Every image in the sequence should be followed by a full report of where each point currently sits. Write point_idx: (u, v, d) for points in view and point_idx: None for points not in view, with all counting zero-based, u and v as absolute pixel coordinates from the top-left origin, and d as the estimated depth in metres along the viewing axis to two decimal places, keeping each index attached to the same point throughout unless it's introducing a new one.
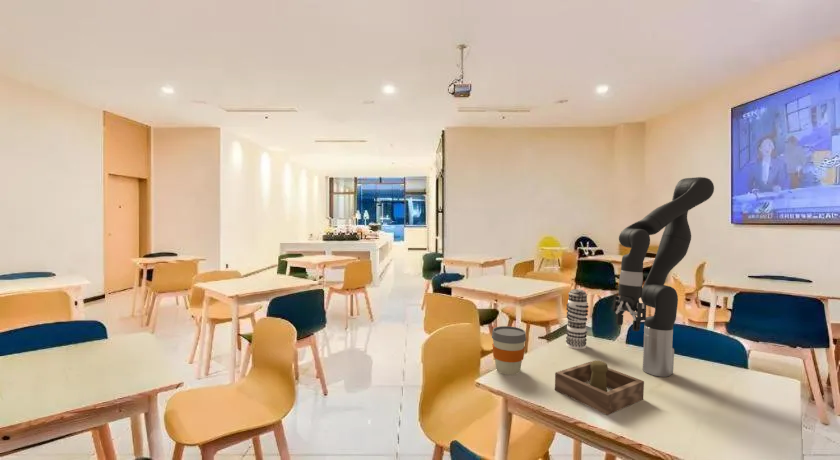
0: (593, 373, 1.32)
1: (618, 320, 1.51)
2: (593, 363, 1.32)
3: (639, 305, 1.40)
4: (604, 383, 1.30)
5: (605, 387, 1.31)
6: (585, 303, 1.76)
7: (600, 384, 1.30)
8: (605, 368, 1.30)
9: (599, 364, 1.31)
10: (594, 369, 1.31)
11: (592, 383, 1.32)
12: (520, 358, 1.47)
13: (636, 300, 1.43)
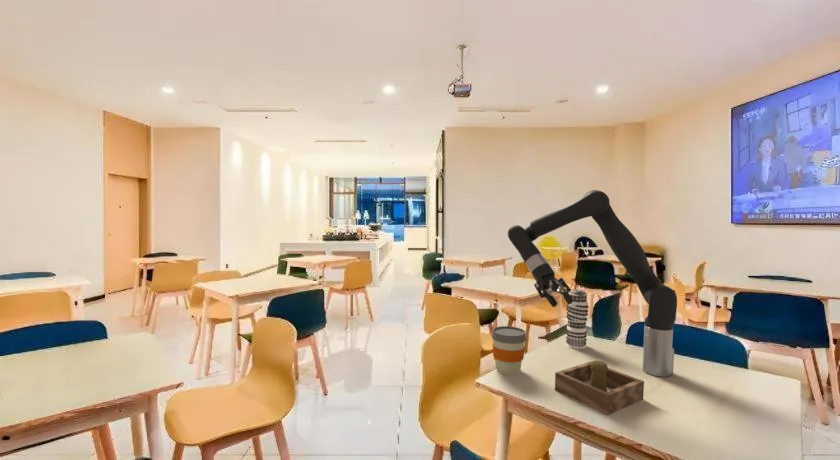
0: (593, 373, 1.32)
1: (566, 300, 1.49)
2: (593, 363, 1.32)
3: None
4: (604, 383, 1.30)
5: (605, 387, 1.31)
6: (585, 303, 1.76)
7: (600, 384, 1.30)
8: (605, 368, 1.30)
9: (599, 364, 1.31)
10: (594, 369, 1.31)
11: (592, 383, 1.32)
12: (520, 358, 1.47)
13: (540, 281, 1.50)
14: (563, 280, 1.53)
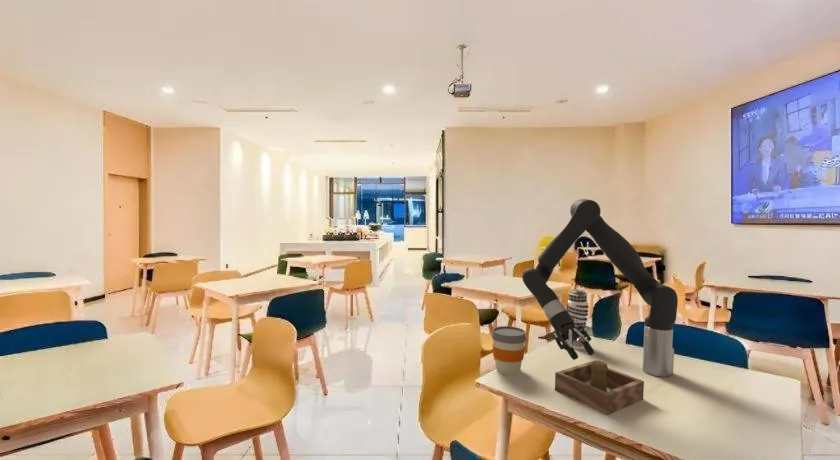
0: (593, 373, 1.32)
1: (587, 351, 1.40)
2: (593, 363, 1.32)
3: None
4: (604, 383, 1.30)
5: (605, 387, 1.31)
6: (585, 303, 1.76)
7: (600, 384, 1.30)
8: (605, 368, 1.30)
9: (599, 364, 1.31)
10: (594, 369, 1.31)
11: (592, 383, 1.32)
12: (520, 358, 1.47)
13: (558, 330, 1.41)
14: (583, 328, 1.45)
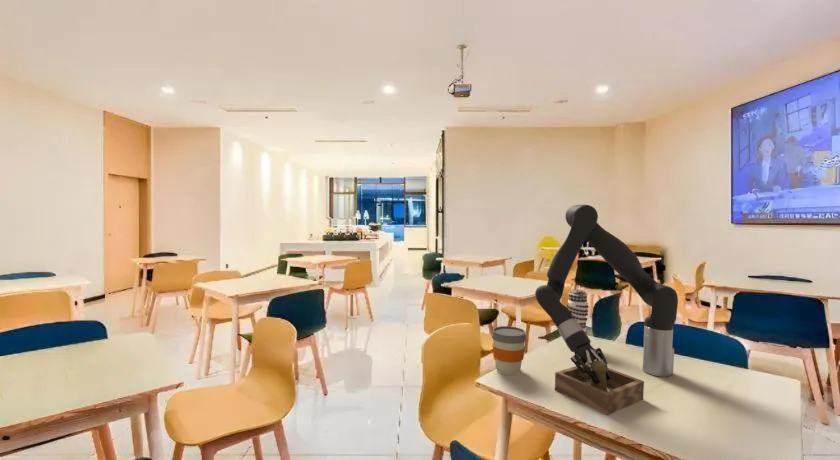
0: None
1: None
2: (593, 363, 1.32)
3: None
4: (604, 383, 1.30)
5: (605, 387, 1.31)
6: (585, 303, 1.76)
7: (600, 384, 1.30)
8: (605, 368, 1.30)
9: (599, 364, 1.31)
10: (594, 369, 1.31)
11: (592, 383, 1.32)
12: (520, 358, 1.47)
13: (575, 351, 1.36)
14: (601, 351, 1.38)
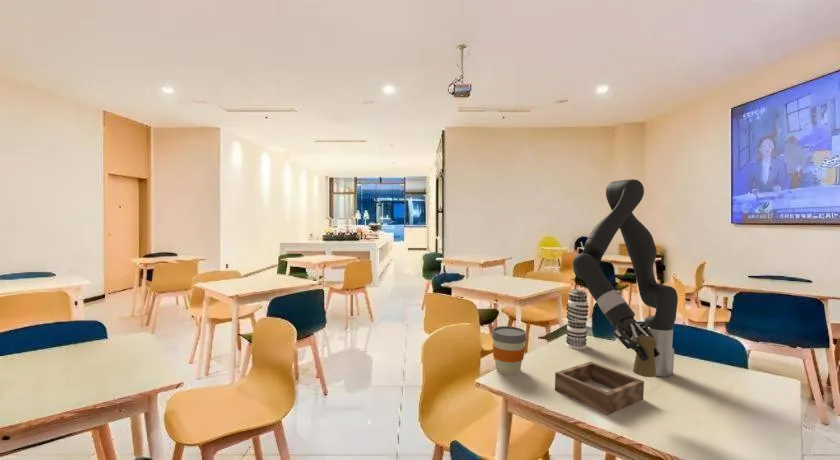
0: None
1: None
2: (639, 338, 1.19)
3: None
4: (652, 360, 1.17)
5: (653, 364, 1.17)
6: (585, 303, 1.76)
7: (647, 361, 1.17)
8: (653, 343, 1.17)
9: (647, 339, 1.17)
10: (641, 344, 1.17)
11: (638, 360, 1.18)
12: (520, 358, 1.47)
13: (618, 325, 1.22)
14: (646, 325, 1.25)
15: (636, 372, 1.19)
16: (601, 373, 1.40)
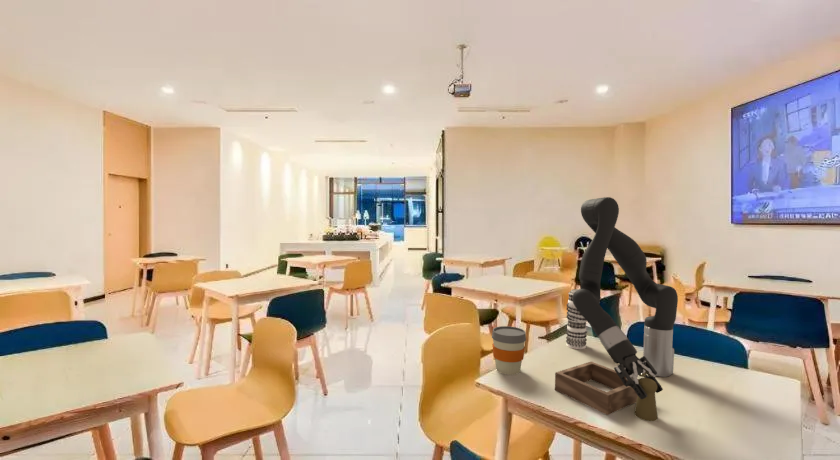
0: None
1: None
2: (641, 381, 1.19)
3: None
4: (653, 403, 1.17)
5: (655, 408, 1.17)
6: None
7: (649, 405, 1.17)
8: (655, 387, 1.17)
9: (648, 382, 1.17)
10: (643, 387, 1.17)
11: (639, 403, 1.18)
12: (520, 358, 1.47)
13: (620, 363, 1.22)
14: (646, 359, 1.25)
15: (637, 415, 1.19)
16: (601, 373, 1.40)
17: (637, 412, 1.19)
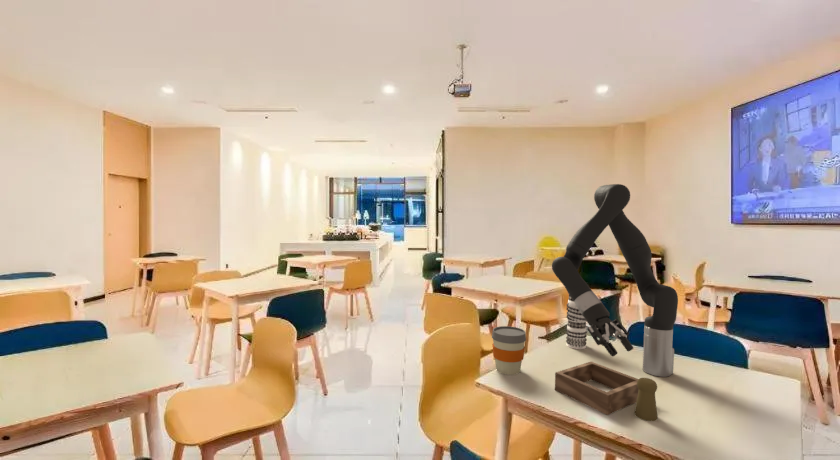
0: (640, 392, 1.19)
1: (625, 346, 1.29)
2: (640, 381, 1.19)
3: None
4: (653, 403, 1.17)
5: (654, 408, 1.17)
6: None
7: (649, 405, 1.17)
8: (655, 387, 1.17)
9: (648, 382, 1.17)
10: (642, 387, 1.17)
11: (639, 403, 1.19)
12: (520, 358, 1.47)
13: (594, 324, 1.29)
14: (619, 322, 1.33)
15: (638, 415, 1.19)
16: (601, 373, 1.40)
17: (637, 412, 1.19)
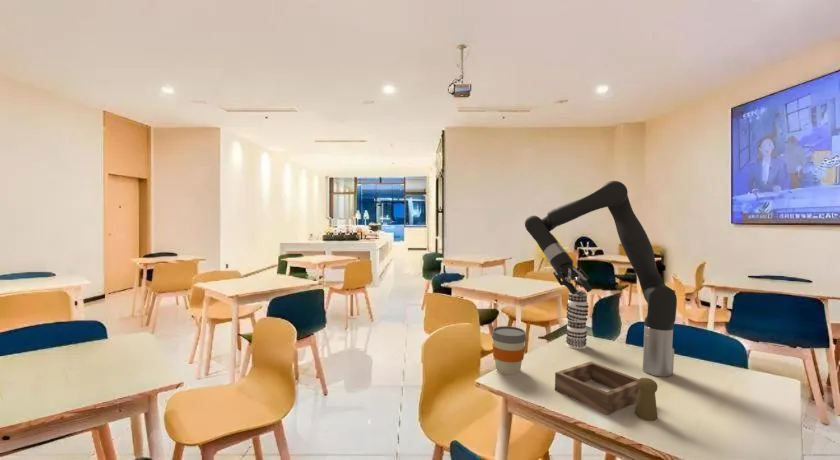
0: (641, 392, 1.19)
1: (585, 288, 1.51)
2: (641, 381, 1.19)
3: None
4: (654, 403, 1.17)
5: (655, 408, 1.17)
6: (585, 303, 1.76)
7: (649, 405, 1.17)
8: (655, 387, 1.17)
9: (649, 382, 1.17)
10: (643, 387, 1.17)
11: (640, 403, 1.18)
12: (520, 358, 1.47)
13: (559, 269, 1.52)
14: (581, 268, 1.55)
15: (638, 415, 1.19)
16: (601, 373, 1.40)
17: (637, 412, 1.19)
